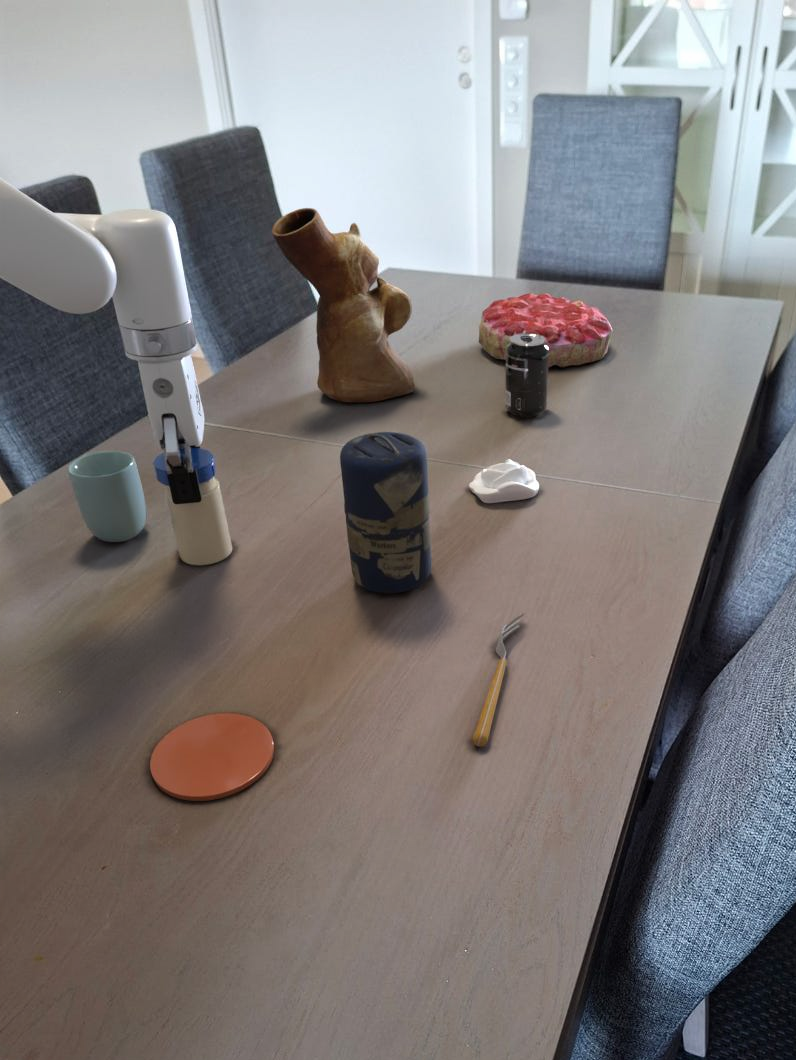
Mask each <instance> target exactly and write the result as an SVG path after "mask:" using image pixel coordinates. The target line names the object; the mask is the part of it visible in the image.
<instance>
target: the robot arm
mask: <svg viewBox="0 0 796 1060" xmlns="http://www.w3.org/2000/svg"><path fill="white" fill-rule="evenodd" d="M0 279H2V280H3V281H5V282H7V283H9V284H10V285H12V286H14V287H16V288H17V289H20V290H21V291H23V292H24V293H27V294H28V295H30V296H32V297H33V298H35V299H37V300H39V301H41V302H42V303H45V304H46V305H48V306H49V307H52V308H54V309H56V310H59V311H61V312H65V313H68V314H75V315H84V314H91V313H92V312H93V313H94V312H96V311H98V310H100V309H101V308H104V306H105V305H106V304H108V303H109V301H111V299H112V302H113V305H114V310H115V315H116V320H117V323H118V327H119V333H120V336H121V341H122V344H123V350H124V354H125V356H126V357H127V358H128V359H130V360H133V361H137V365H138V370H139V376H140V382H141V386H142V390H143V396H144V401H145V406H146V410H147V414H148V419H149V423H150V428H151V432H152V436H153V439H154V443H155V445H156V447H158V448H159V449H160V450H163V453H164V454H165V461H166V468H167V478H168V482H169V487H170V491H171V496H172V501H173V503H174V504H186V503H198V502H201V499H202V497H201V492H200V486H199V481H198V476H197V471H196V469H193V463H192V456H191V449H190V448H201V444H202V443H203V440H204V431H205V413H204V408H203V404H202V399H201V395H200V390H199V386H198V380H197V376H196V372H195V367H194V362H193V358H192V355H193V354H194V353H196V351H198V344H197V337H196V332H195V327H194V321H193V315H192V310H191V304H190V299H189V294H188V288H187V283H186V277H185V272H184V266H183V259H182V255H181V248H180V243H179V237H178V232H177V227H176V225H175V223H174V221H173V219H172V217H171V216H170V215H168V214H167V213H165V212H163V211H161V210H157V209H151V208H131V209H130V208H129V209H123V210H122V209H121V210H117V211H112V212H110V213H107V214H85V213H67V212H53V211H51V210H50V209H48V208H47V207H46V206H44V205H42V204H41V203H39V202H38V201H36V200H34V199H33V198H31V197H30V196H28V195H27V194H25V192H22V191H21V190H19V189H18V188H17V187H15V186H14V185H12V184H11V183H9V182H8V181H6V180H4V179H3V178H2V177H0ZM180 450H185V456H186V458H184V456H183V455H181V454H180Z"/></svg>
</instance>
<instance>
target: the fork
mask: <svg viewBox="0 0 796 1060" xmlns="http://www.w3.org/2000/svg"><path fill="white" fill-rule="evenodd" d="M524 615H525V614H524V613H522V614H520V615H518V616H517V617H515V618H514V619H513V620H511V621H510V622H508V623H506V625H504V626H503V627H502V629H501V632H500V634H499V638H498V641H497V645H496V648H495V652H496V654H497V655H498V656H499V660H498V662H497V666H496V669H495V672H494V675H493V678H492V681H491V683H490V687H489V689H488V691H487V695H486V697H485V701H484V704H483V707H482V709H481V713H480V715H479V719H478V722H477V725H476V727H475V731H474V733H473V736H472V742H473V744H474V745H475V746H476V747H484V746H485V745H486V744H487V743H488V740H489V736H490V732H491V728H492V724H493V721H494V715H495V712H496V707H497V704H498V699H499V695H500V691H501V686H502V684H503V680H504V675H505V671H506V667H507V663H508V662H507V659H506V655H507V650H506V647H505V644H504V640H505V639H506V638H508V636H510V634H512V633H513V632H514V631H516V630H518V629H519V628H520V627H521V626H520V625H519V624H520V623H522V621H523V620H522V619H521V618H523V617H524Z"/></svg>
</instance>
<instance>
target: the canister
mask: <svg viewBox="0 0 796 1060" xmlns="http://www.w3.org/2000/svg"><path fill="white" fill-rule="evenodd" d="M339 461H340V462H339V463H340V470H341V481H342V491H343V500H344V502H343V503H344V505H343V509H344V514H345V526H346V536H347V543H348V551H349V560H350V568H351V573H352V577H353V579H354V580H355V582H356V583H357V584H358V585H359V586H361V587H362V588H364V589H366V590H368V591H371V592H375V593H379V594H398V593H404V592H408V591H411V590H412V589H415V588H417V587H420V586H421V585H422V584H423V583H425V581H426V580H427V579H428V578H429V576H430V574H431V572H432V547H431V546H432V545H431V541H432V540H431V523H430V522H431V521H430V496H429V493H430V492H429V474H428V473H429V472H428V454H427V449H426V447H425V445H424V443H423V442H422V441H421V440H420V439H419V438H416V437H415V436H413V435H410V434H407V433H402V432H396V431H377V432H371V433H370V432H369V433H365V434H361V435H359V436H356V437H354V438H352V439H350V440H348V441H347V442H346V443H345V444H344V445H343V446H342V448H341V450H340V454H339Z"/></svg>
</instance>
